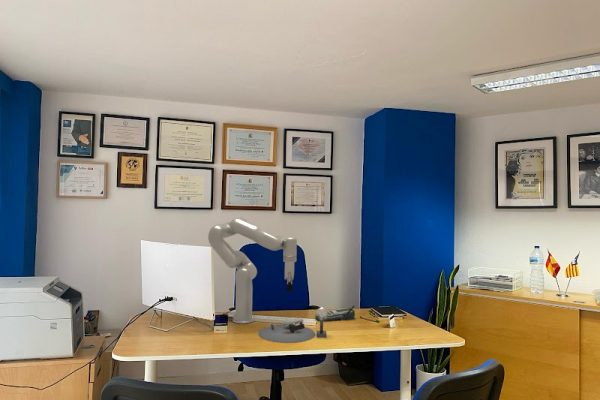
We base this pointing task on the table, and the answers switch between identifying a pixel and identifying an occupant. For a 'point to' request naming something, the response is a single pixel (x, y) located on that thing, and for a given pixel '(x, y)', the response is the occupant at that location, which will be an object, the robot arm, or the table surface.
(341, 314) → the communication device
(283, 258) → the robot arm
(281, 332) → the mat
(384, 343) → the table surface
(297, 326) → the clip-on lamp
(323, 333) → the square-base wall hook
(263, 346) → the table surface
